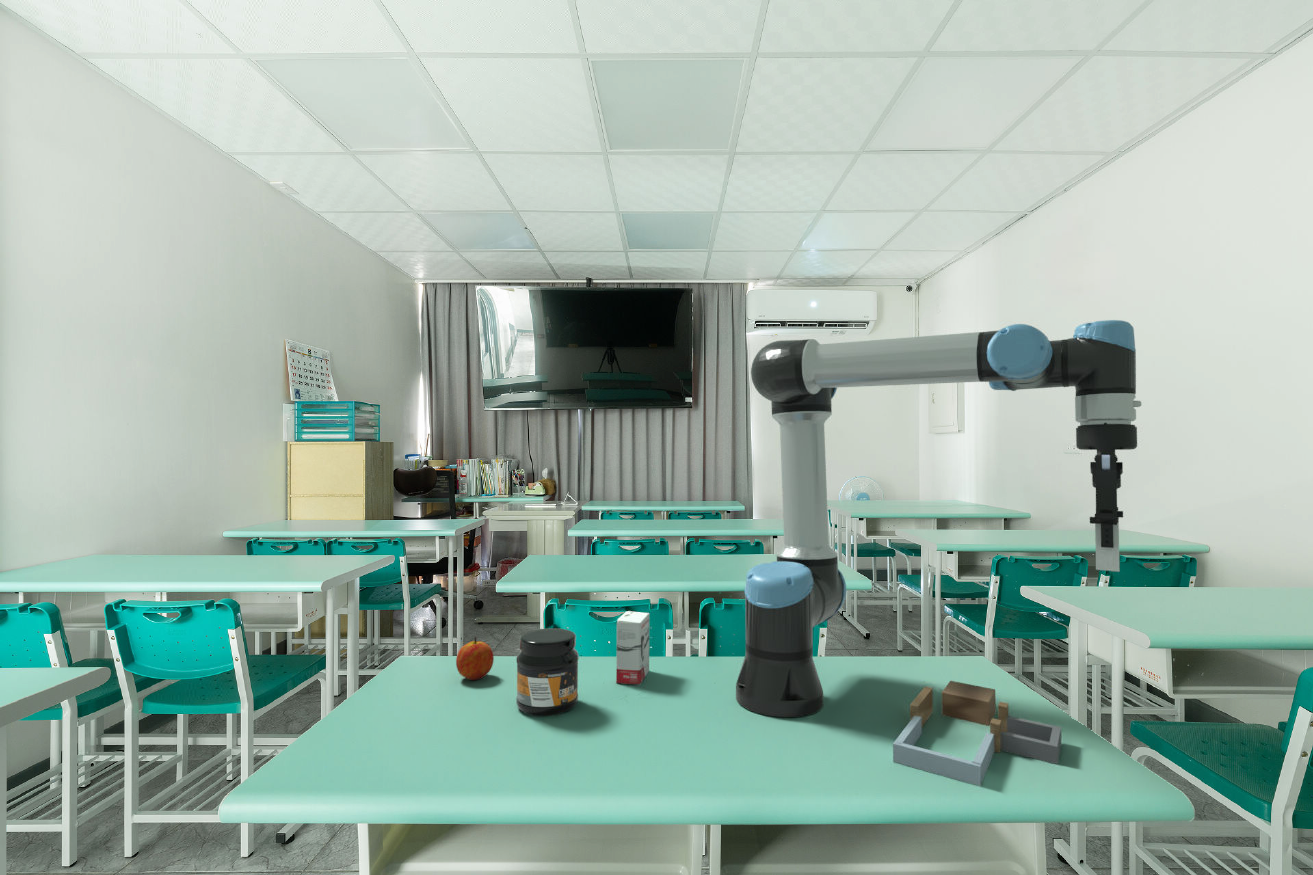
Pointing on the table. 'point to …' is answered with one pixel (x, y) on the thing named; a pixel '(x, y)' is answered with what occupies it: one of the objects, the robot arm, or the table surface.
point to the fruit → (474, 660)
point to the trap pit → (1032, 739)
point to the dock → (942, 756)
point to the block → (969, 702)
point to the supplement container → (547, 672)
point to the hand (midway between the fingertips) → (1108, 564)
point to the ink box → (632, 647)
